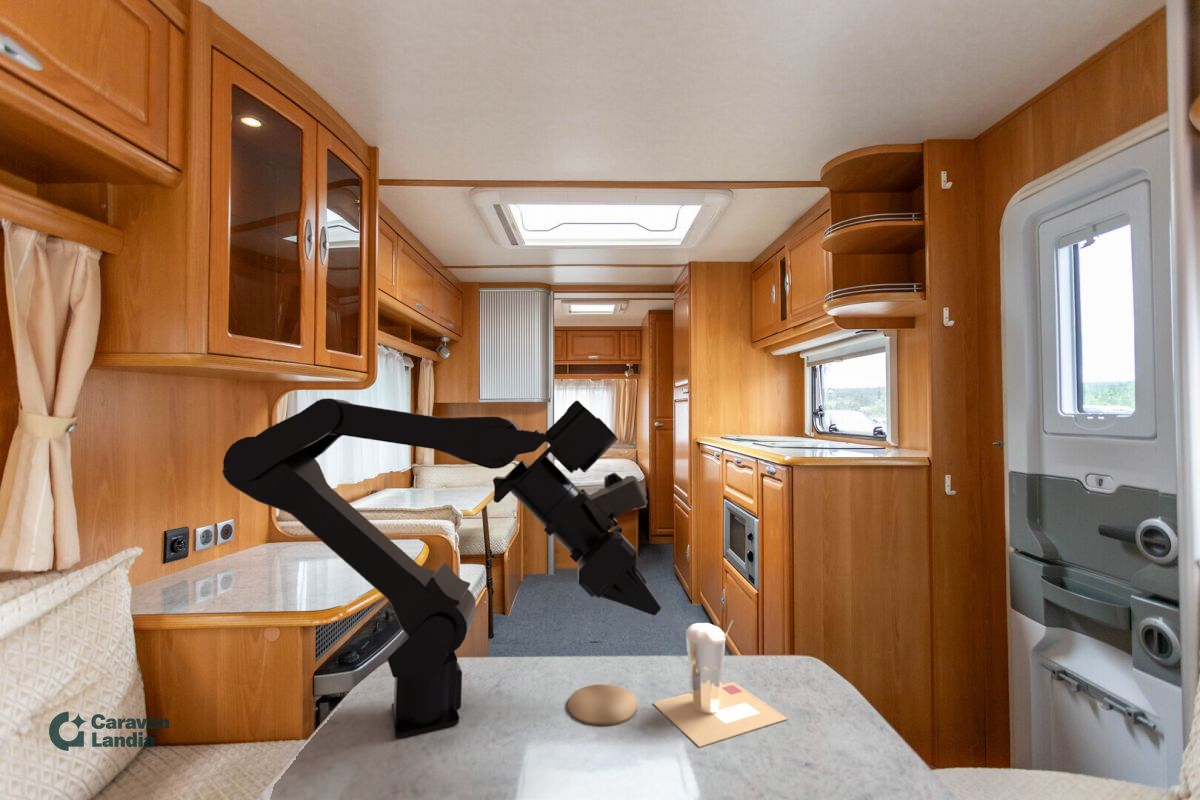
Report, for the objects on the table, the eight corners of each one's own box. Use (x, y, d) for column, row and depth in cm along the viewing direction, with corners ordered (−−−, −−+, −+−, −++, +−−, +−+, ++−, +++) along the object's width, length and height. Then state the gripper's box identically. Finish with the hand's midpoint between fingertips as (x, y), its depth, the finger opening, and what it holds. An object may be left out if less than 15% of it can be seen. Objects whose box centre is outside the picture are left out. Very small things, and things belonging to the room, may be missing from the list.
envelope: (699, 747, 51) (699, 746, 51) (652, 703, 59) (652, 702, 59) (787, 719, 56) (787, 718, 56) (733, 682, 64) (733, 681, 64)
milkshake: (734, 720, 55) (734, 627, 56) (685, 714, 56) (685, 623, 57) (732, 699, 60) (731, 613, 60) (686, 694, 61) (686, 609, 62)
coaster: (585, 732, 53) (585, 728, 53) (558, 696, 60) (558, 692, 60) (650, 715, 56) (650, 711, 56) (617, 682, 64) (617, 679, 64)
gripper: (614, 456, 50) (724, 569, 50) (599, 449, 68) (679, 531, 68) (532, 538, 49) (645, 652, 49) (539, 508, 67) (621, 591, 67)
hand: (650, 597), depth 58 cm, fingers open, 9 cm apart
